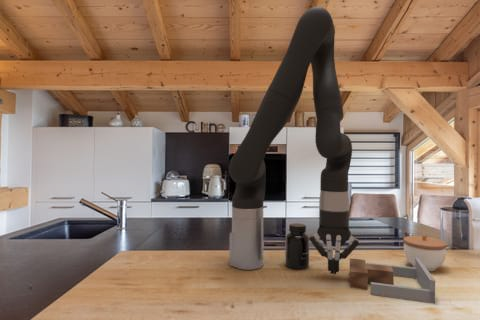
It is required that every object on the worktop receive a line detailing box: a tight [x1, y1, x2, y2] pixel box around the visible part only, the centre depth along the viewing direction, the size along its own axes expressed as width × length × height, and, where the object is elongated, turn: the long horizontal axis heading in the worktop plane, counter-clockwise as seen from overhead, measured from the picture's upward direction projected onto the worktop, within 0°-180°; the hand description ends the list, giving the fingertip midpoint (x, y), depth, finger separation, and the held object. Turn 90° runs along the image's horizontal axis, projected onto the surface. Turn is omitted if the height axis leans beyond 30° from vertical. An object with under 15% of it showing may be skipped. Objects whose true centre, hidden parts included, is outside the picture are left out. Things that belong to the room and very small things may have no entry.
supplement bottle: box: [284, 222, 310, 270], centre depth 90 cm, size 7×7×12 cm
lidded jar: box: [402, 234, 448, 272], centre depth 89 cm, size 11×11×9 cm
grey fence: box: [366, 258, 436, 304], centre depth 77 cm, size 13×15×5 cm
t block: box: [349, 258, 394, 291], centre depth 79 cm, size 10×10×4 cm
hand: (333, 272), depth 82 cm, fingers closed
